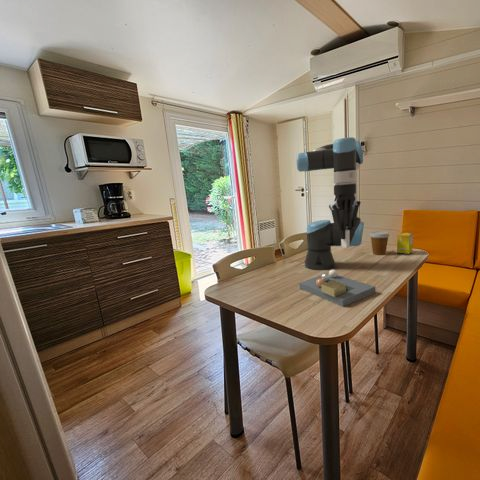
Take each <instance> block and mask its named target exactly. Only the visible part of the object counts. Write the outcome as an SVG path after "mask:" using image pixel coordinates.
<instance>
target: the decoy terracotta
mask: <svg viewBox="0 0 480 480" xmlns="http://www.w3.org/2000/svg"><path fill="white" fill-rule="evenodd" d="M324 283H325V281H324V280H323V279H318V280H317V281H316V285H317V286H318V287H321V284H324Z"/></svg>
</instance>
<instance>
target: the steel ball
mask: <svg viewBox="0 0 480 480" xmlns="http://www.w3.org/2000/svg"><path fill="white" fill-rule="evenodd" d="M327 273H328V272H324V273H322V274H321V275H322V276H321V275H320V276H321V278H322V279H323V280H324V281H329V279H330V276H329V274H327Z"/></svg>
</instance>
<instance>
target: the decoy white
mask: <svg viewBox="0 0 480 480" xmlns="http://www.w3.org/2000/svg"><path fill="white" fill-rule="evenodd" d="M328 273H329V276H330V277H332V278H334V277H336V276H337V275H338V271H337V270H336V269H330V270H329V272H328Z"/></svg>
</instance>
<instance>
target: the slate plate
mask: <svg viewBox="0 0 480 480" xmlns="http://www.w3.org/2000/svg"><path fill="white" fill-rule="evenodd" d="M326 273H327V274H329V272H326ZM321 276H322V274H321V275H319V276H315V277H311V278H310V279H306V280H304V281H300V282H299V283H298V284H299V286H298V287H299V289H300V290H302V291H305V292H307V293H310V294H312V295H315V296H317V297H319V298H321V299H324V300H327V301H328V302H331V303H333V304H335V305H338V306H341V307H345V306H347V305H350V304H352V303H355V302H357V301H359V300H362V299H364V298H367V297H368V296H371V295H374V294H376V286H375V285H372V284H368V283H365V282H362V281H359V280H355V279H352V278H349V277H345V276H342V275H340V274H337V276H336V277H334V278H332V277H330V279H329V281H332V280H333V281H336V282H339V283H342V284H345V285H346V293H343V294H341V295H338V296H335V297H333V296H331V295H328V294H326V293H323V292H322V290H321V287H318V286H317V285H316V281H317V280H318V279H322V278H321ZM329 281H325V283H326V282H329Z"/></svg>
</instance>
